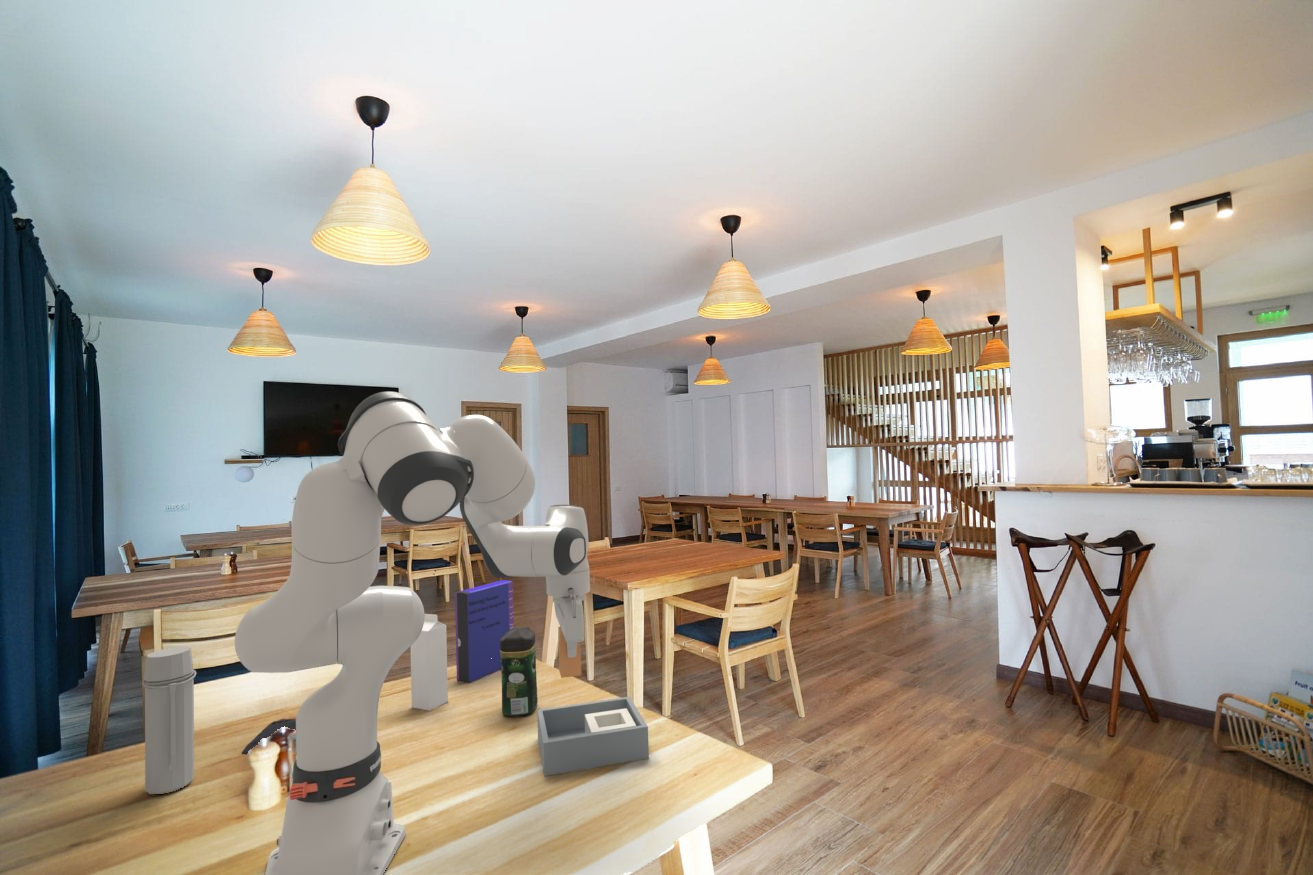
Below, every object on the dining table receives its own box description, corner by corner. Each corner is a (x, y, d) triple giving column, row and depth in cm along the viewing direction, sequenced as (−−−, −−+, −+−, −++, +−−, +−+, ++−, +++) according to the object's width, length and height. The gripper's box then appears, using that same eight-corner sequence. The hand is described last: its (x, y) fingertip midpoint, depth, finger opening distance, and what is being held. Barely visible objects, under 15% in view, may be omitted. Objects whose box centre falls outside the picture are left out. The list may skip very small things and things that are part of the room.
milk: (429, 698, 151) (428, 610, 152) (448, 701, 149) (446, 611, 150) (411, 708, 146) (409, 615, 147) (429, 711, 143) (428, 617, 144)
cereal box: (503, 661, 178) (500, 579, 179) (515, 663, 176) (512, 580, 177) (456, 680, 163) (454, 591, 164) (469, 683, 161) (467, 593, 162)
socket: (637, 745, 120) (636, 725, 120) (592, 753, 117) (591, 732, 117) (627, 727, 128) (626, 708, 128) (585, 733, 126) (584, 714, 126)
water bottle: (140, 788, 112) (140, 652, 113) (193, 771, 118) (192, 642, 119) (145, 807, 106) (145, 663, 107) (201, 788, 111) (200, 652, 112)
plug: (581, 675, 120) (580, 626, 121) (561, 677, 119) (560, 628, 120) (578, 668, 124) (577, 620, 125) (559, 670, 123) (558, 622, 124)
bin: (648, 757, 117) (647, 726, 117) (544, 775, 111) (543, 742, 112) (630, 724, 132) (629, 696, 132) (538, 738, 127) (537, 709, 127)
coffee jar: (507, 702, 147) (505, 625, 148) (540, 700, 147) (537, 624, 148) (498, 719, 137) (495, 636, 138) (532, 717, 137) (530, 635, 138)
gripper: (591, 593, 113) (593, 667, 113) (577, 573, 133) (579, 636, 133) (557, 596, 112) (559, 671, 111) (548, 575, 131) (550, 639, 131)
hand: (570, 652), depth 122 cm, fingers closed on plug, 4 cm apart
